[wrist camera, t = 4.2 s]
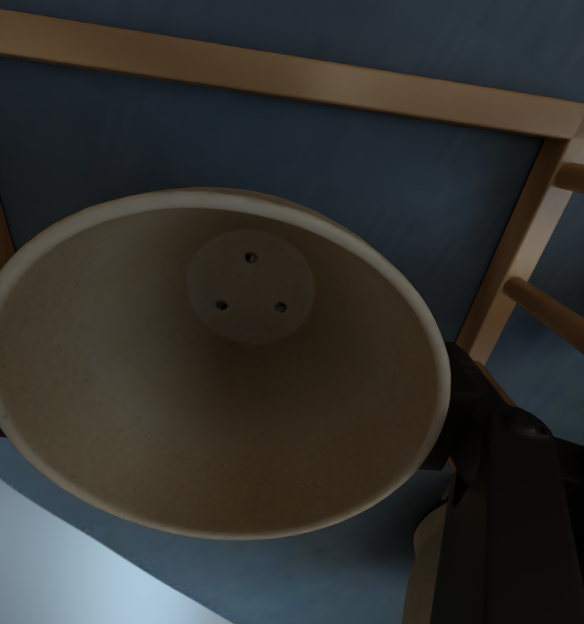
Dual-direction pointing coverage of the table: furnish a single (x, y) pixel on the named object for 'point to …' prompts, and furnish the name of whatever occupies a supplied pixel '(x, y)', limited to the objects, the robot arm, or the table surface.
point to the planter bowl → (424, 568)
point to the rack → (370, 98)
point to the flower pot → (217, 364)
